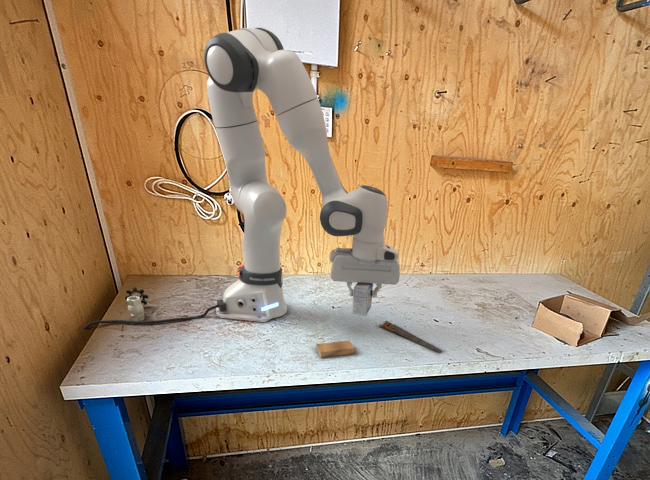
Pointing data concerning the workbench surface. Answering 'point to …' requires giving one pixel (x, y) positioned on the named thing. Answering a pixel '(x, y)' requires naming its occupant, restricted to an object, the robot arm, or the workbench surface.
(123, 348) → the workbench surface
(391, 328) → the hand saw
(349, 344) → the plywood offcut
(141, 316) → the valve
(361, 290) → the medicine box
